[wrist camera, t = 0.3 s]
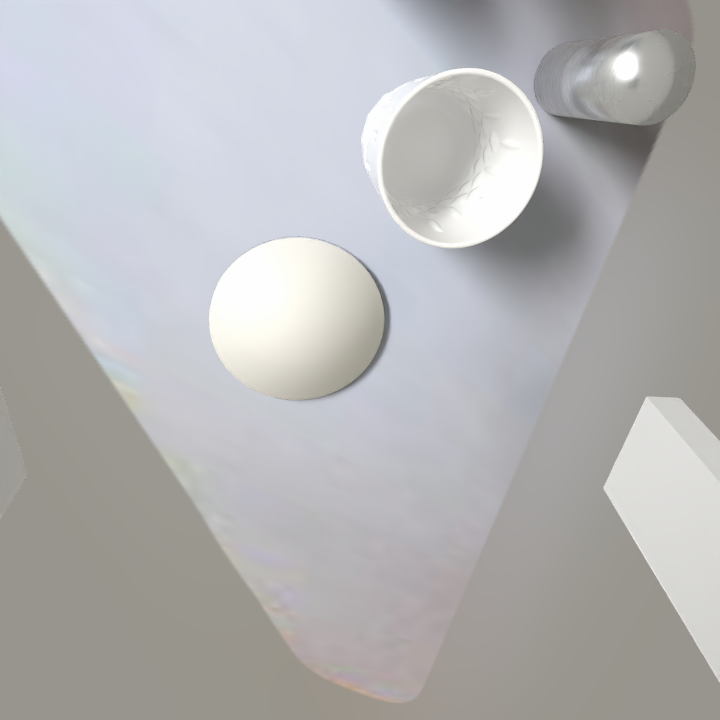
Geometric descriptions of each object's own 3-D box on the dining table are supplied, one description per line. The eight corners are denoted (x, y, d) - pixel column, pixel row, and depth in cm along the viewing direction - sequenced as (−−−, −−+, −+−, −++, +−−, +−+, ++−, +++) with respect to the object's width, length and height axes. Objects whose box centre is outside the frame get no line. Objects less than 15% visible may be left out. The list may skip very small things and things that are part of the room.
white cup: (499, 117, 34) (577, 128, 25) (432, 229, 37) (481, 275, 28) (392, 43, 32) (438, 28, 23) (328, 170, 34) (346, 200, 25)
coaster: (204, 233, 35) (203, 236, 34) (389, 239, 37) (391, 241, 36) (215, 397, 40) (214, 401, 40) (376, 394, 42) (377, 398, 41)
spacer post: (541, 39, 32) (627, 26, 25) (603, 45, 33) (707, 33, 25) (528, 113, 34) (604, 123, 26) (587, 117, 35) (679, 127, 27)
